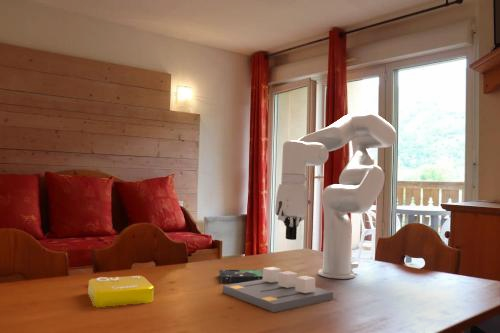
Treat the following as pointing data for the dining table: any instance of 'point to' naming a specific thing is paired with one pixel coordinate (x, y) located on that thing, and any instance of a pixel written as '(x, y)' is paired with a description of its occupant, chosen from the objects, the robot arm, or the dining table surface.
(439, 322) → the dining table surface
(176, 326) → the dining table surface
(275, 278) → the tab
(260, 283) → the switch board
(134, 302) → the element tile
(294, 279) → the tab
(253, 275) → the disk drive
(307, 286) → the tab
